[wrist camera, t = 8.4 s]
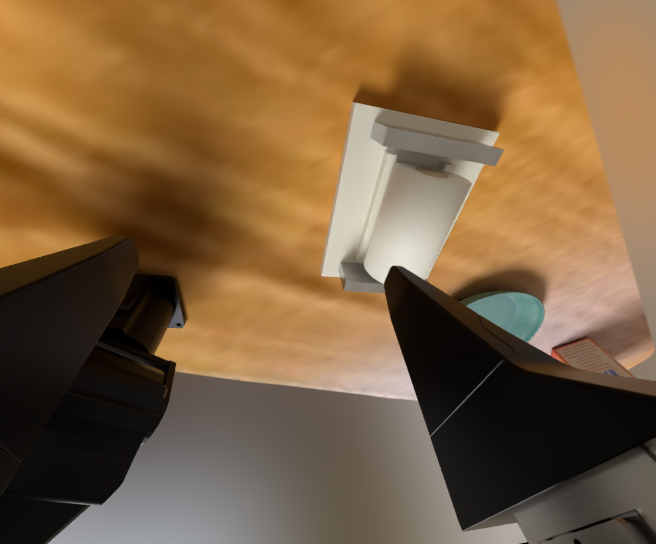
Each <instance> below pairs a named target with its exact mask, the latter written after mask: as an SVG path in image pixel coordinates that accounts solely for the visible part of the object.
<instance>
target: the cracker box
mask: <svg viewBox="0 0 656 544" xmlns="http://www.w3.org/2000/svg"><path fill="white" fill-rule="evenodd" d="M551 356H552V357H553V358H555V359H557V360H559V361H561V362H563V363H565V364H567V365H570V366H572V367H575V368H578V369H581V370H585V371H590V372H596V373H603V374H610V375H616V376H623V377H630V378H636V377H635V376H634V375H633V374H632V373H630V372H629V371H628V370H627V369H626V368H625V367H623V366H622V365H621V364H620V363H619V362H618V361H617V360H615V359H614V358H613V357H612V356H611V355H609V354H608V353H607V352H606V351H605V350H604V349H602V348H601V347H600V346H599V345H598V344H597V343H595V342H594V341H593V340H592V339H591V338H589V337H587V338H585V339H582V340H579V341H576V342H573V343H570V344H567V345H564V346H561V347H558V348H555V349H552V355H551Z"/></svg>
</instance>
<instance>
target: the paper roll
mask: <svg viewBox="0 0 656 544" xmlns="http://www.w3.org/2000/svg"><path fill="white" fill-rule="evenodd" d="M471 185H472V183H471V182H470V181H469V180H467V179H465V178H463V177H461V176H459V175H457V174H454V173H451V172H448V171H445V170H442V169H439V168H435V167H431V166H427V165H422V164H417V163H410V162H396V163H394V164H393V167H392V171H391V174H390V177H389V181H388V184H387V187H386V190H385V194H384V197H383V200H382V204H381V207H380V210H379V214H378V217H377V220H376V223H375V227H374V230H373V233H372V237H371V240H370V243H369V246H368V250H367V253H366V256H365V260H364V267H365V269H366V271H367V272H368V273H369V274H370V275H371V276H372V277H373V278H374V279H376V280H377V281H379V282H381V283H383V284H384V282H385V279H386V277H387V274H388V272H389V270H390V268H391V266H393V265H395V266H402V267H404V268H406V269H407V270H409V271H411V272H412V273H414V274H415V275H417V276H419V277H420V278H422V279H423V280H425V279H426V277H427V274H428V272H429V270H430V268H431V266H432V264H433V262H434V260H435V258H436V256H437V254H438V252H439V250H440V248H441V246H442V244H443V242H444V240H445V238H446V236H447V234H448V232H449V230H450V228H451V226H452V224H453V222H454V220H455V218H456V216H457V214H458V212H459V210H460V208H461V206H462V204H463V202H464V199H465V197H466V195H467V193H468V191H469V189H470V187H471Z"/></svg>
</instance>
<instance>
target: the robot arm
mask: <svg viewBox="0 0 656 544" xmlns="http://www.w3.org/2000/svg"><path fill="white" fill-rule="evenodd" d="M138 265H139V258H138V254H137V250H136V246H135V242H134V240H133V238H131V237H127V236H112V237H109V238H105V239H102V240H98V241H95V242H91V243H88V244H84V245H81V246H77V247H74V248H70V249H67V250H63V251H60V252H56V253H53V254H49V255H45V256H42V257H38V258H35V259H31V260H28V261H24V262H21V263H17V264H14V265H10V266H7V267H3V268H0V544H47V543H48V542H50V541H51V540H52V539H53V538H54V537H55V536H56V535H57V534H59V533H60V532H61V531H62V530H63V529H64V528H65V527H66V526H68V525H69V524H70V523H71V522H72V521H73V520H75V519H76V518H77V517H78V516H79V515H80V514H81V513H82V512H84V511H85V510H86V509H87V508H88V507H89V506H90V505H95V506H100V505H102V504H103V503H104V502H105V501H106V500H107V499H108V498H109V497H110V496H111V495H112V494H113V493H114V492H115V491H116V490H117V489H118V488H119V487H120V485H121V484H122V483H123V481H124V479H125V476H126V474H127V472H128V470H129V468H130V466H131V463H132V461H133V459H134V457H135V455H136V453H137V451H138V449H139V447H140V446H141V445H143V444H144V443H145V442H146V441H147V440H148V439H149V437H150V436H151V435H152V434H153V432H154V431H155V429H156V428H157V426H158V425H159V423H160V421H161V419H162V417H163V415H164V413H165V411H166V408H167V406H168V402H169V398H170V392H171V388H172V382H173V377H174V372H175V367H176V363H175V362H173V361H167V360H165V359H162V358H160V357H158V356H155V355H154V354H155V352H156V350H157V348H158V346H159V344H160V342H161V340H162V338H163V336H164V334H165V332H166V330H167V328H182V327H184V325H185V318H184V313H183V308H182V304H181V299H180V295H179V290H178V285H177V281H176V279H175V278H173V277H170V276H154V275H137V274H135V272H136V270H137V268H138ZM168 281H170V282H172V283H170V282H168ZM384 290H385V295H386V299H387V304H388V309H389V314H390V318H391V321H392V324H393V327H394V330H395V333H396V336H397V339H398V342H399V345H400V348H401V351H402V354H403V357H404V360H405V363H406V366H407V369H408V372H409V375H410V378H411V381H412V384H413V387H414V390H415V393H416V396H417V399H418V402H419V405H420V407H421V411H422V414H423V417H424V420H425V423H426V426H427V428H428V431H429V435H430V436H431V441H432V444H433V447H434V450H435V453H436V455H437V459H438V462H439V465H440V467H441V471H442V474H443V477H444V480H445V483H446V486H447V489H448V491H449V494H450V497H451V500H452V503H453V506H454V509H455V512H456V515H457V518H458V521H459V524H460V526H461V528H462V531H470V530H476V529H481V528H488V527H493V526H499V525H505V524H511V523H518V525H519V527H520V528H521V530H522V532H523V534H524V536H525V538H526V540H527V542H526V543H522V544H656V381H650V380H644V379H637V378H630V377H623V376H616V375H610V374H603V373H596V372H590V371H585V370H581V369H578V368H575V367H572V366H570V365H567V364H565V363H563V362H561V361H559V360H557V359H555V358H553V357H552V356H550V355H548V354H546V353H545V352H543V351H541V350H539V349H537V348H536V347H534V346H532V345H530V344H529V343H527V342H525V341H523V340H522V339H520V338H518V337H516V336H515V335H513V334H511V333H509V332H508V331H506V330H504V329H502V328H501V327H499V326H498V325H496V324H494V323H493V322H491V321H489V320H488V319H486V318H484V317H483V316H481V315H478V313H476V312H475V311H473V310H472V309H470V308H468V307H467V306H465V305H463V304H462V303H460V302H459V301H457V300H455V299H454V298H452V297H451V296H449V295H447V294H446V293H444V292H443V291H441V290H439V289H438V288H436V287H435V286H433V285H431V284H430V283H428V282H427V281H425V280H423V279H422V278H420V277H419V276H417V275H415V274H414V273H412V272H411V271H409V270H407V269H406V268H404V267H402V266H395V265H393V266H391V268H390V270H389V272H388V274H387V277H386V279H385V282H384Z"/></svg>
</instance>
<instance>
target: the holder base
mask: <svg viewBox="0 0 656 544" xmlns="http://www.w3.org/2000/svg"><path fill="white" fill-rule="evenodd" d="M374 121H375V122H380V123H385V124H391V125H396V126H401V127H406V128H411V129H416V130H421V131H426V132H431V133H436V134H441V135H447V136H452V137H457V138H462V139H467V140H472V141H477V142H480V143H483V144H487V145H490V146H493V145H494V143H495V141H496V139H497V137H498V135H499V133H498V132H494V131H490V130H485V129H480V128H475V127H470V126H466V125H461V124H456V123H451V122H446V121H442V120H437V119H432V118H427V117H423V116H418V115H413V114H408V113H403V112H399V111H394V110H389V109H384V108H379V107H375V106H370V105H365V104H360V103H356V102H352V106H351V111H350V117H349V122H348V127H347V132H346V138H345V143H344V148H343V153H342V159H341V164H340V169H339V175H338V180H337V185H336V190H335V196H334V201H333V206H332V211H331V217H330V222H329V227H328V233H327V238H326V243H325V248H324V254H323V259H322V264H321V269H320V270H321V276H330V277H340V275H339V271H338V269H339V265H340V262H352V263H364V260H365V256H366V253H367V250H368V246H369V243H370V240H371V237H372V233H373V230H374V227H375V223H376V220H377V217H378V214H379V210H380V207H381V204H382V200H383V197H384V194H385V190H386V187H387V184H388V181H389V177H390V174H391V171H392V167H393V164H394V163H396V162H410V163H417V164H422V165H427V166H431V167H435V168H439V169H442V170H445V171H448V172H451V173H454V174H457V175H459V176H461V177H463V178H465V179H467V180H469V181H470V182H471V183H472V185H471V187H470V189H469V191H468V193H467V195H466V197H465V199H464V202H463V204H462V206H461V208H460V210H459V212H458V214H457V216H456V218H455V220H454V222H453V224H452V226H451V228H450V230H449V232H448V234H447V236H446V238H445V240H444V242H443V244H442V246H441V248H440V250H439V252H438V254H437V256H436V258H435V260H434V262H433V264H432V266H431V268H430V270H429V272H428V274H427V277H426V279H427V278H428V276H429V274H430V272H431V270H432V268H433V266H434V264H435V262H436V260H437V258H438V256H439V254H440V252H441V250H442V248H443V246H444V244H445V242H446V240H447V238H448V236H449V234H450V232H451V230H452V228H453V226H454V224H455V222H456V220H457V217H458V215H459V213H460V211H461V209H462V207H463V205H464V203H465V201H466V199H467V197H468V195H469V193H470V191H471V189H472V187H473V185H474V183H475V181H476V179H477V177H478V175H479V173H480V171H481V169H482V167H483V165H484V164H481V163H476V162H470V161H464V160H459V159H453V158H447V157H442V156H436V155H430V154H425V153H419V152H413V151H408V150H402V149H396V148H391V147H385V146H382V145H380V144H379V143H377V142H376V141H374V140H373V139H371V138H370V136H371V132H372V127H373V123H374Z"/></svg>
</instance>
